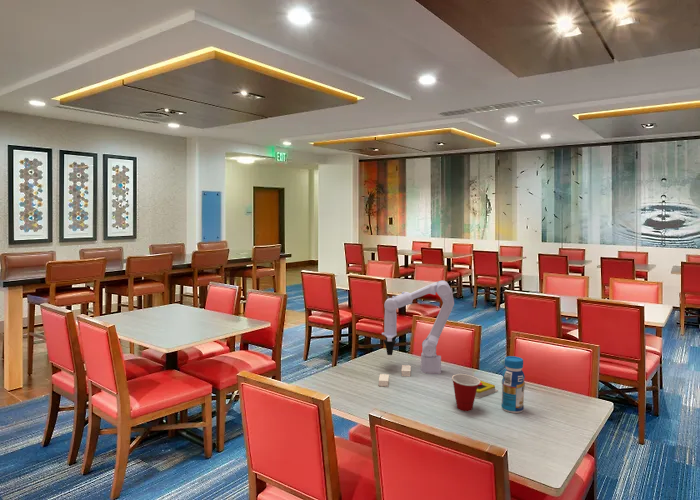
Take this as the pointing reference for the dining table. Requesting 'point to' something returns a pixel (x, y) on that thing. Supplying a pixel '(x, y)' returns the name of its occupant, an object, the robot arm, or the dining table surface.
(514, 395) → the beverage bottle
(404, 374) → the rear slider
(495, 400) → the dining table surface
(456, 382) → the plastic cup
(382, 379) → the front slider
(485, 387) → the emergency button
